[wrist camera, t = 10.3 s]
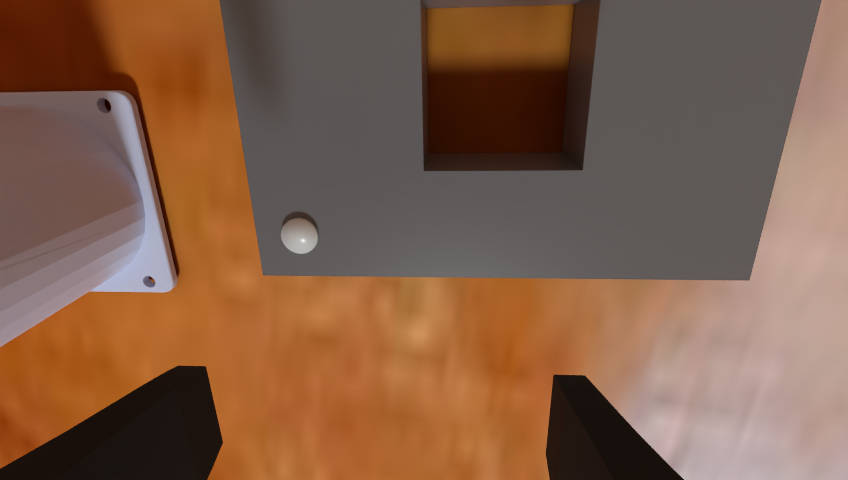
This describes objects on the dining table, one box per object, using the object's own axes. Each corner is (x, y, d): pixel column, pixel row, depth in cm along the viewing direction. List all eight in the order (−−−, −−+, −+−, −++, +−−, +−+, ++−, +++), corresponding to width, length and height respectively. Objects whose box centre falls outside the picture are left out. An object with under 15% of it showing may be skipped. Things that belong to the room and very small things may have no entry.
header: (291, 243, 19) (260, 277, 16) (245, -115, 14) (190, -162, 11) (702, 245, 18) (753, 283, 15) (784, -142, 13) (879, -200, 10)
